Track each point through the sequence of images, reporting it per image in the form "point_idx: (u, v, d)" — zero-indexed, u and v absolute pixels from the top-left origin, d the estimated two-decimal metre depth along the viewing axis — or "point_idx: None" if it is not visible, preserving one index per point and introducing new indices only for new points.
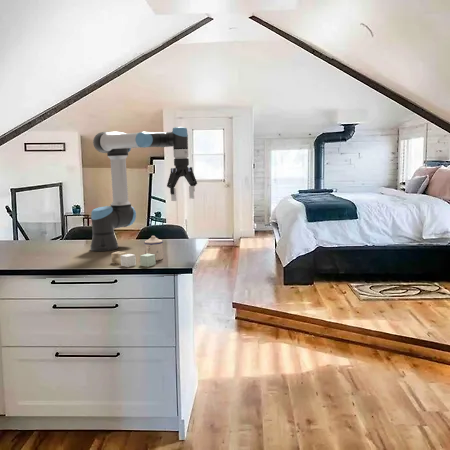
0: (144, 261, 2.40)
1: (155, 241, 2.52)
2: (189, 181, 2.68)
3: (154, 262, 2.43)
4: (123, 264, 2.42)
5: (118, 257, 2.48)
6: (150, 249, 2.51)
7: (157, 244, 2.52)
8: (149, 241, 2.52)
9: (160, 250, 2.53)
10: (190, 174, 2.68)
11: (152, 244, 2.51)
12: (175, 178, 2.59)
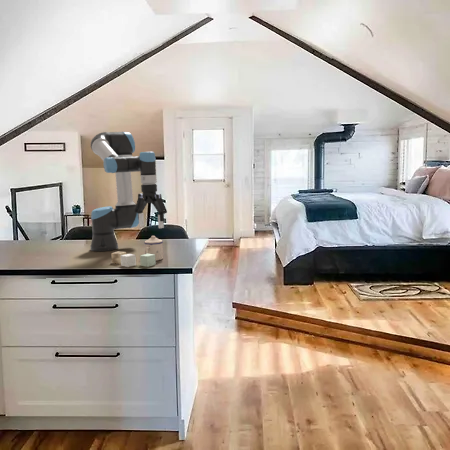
0: (144, 261, 2.40)
1: (155, 241, 2.52)
2: None
3: (154, 262, 2.43)
4: (123, 264, 2.42)
5: (118, 257, 2.48)
6: (150, 249, 2.51)
7: (157, 244, 2.52)
8: (149, 241, 2.52)
9: (160, 250, 2.53)
10: None
11: (152, 244, 2.51)
12: None
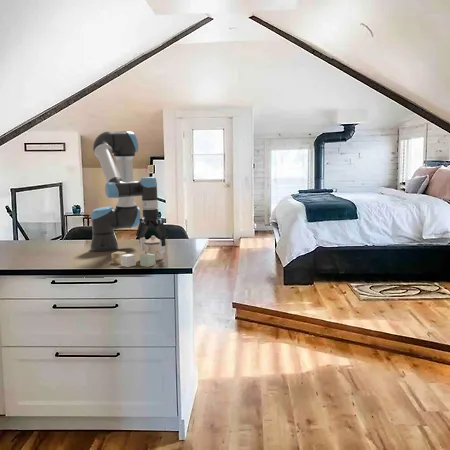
0: (144, 261, 2.40)
1: (155, 241, 2.52)
2: None
3: (154, 262, 2.43)
4: (123, 264, 2.42)
5: (118, 257, 2.48)
6: (150, 249, 2.51)
7: (157, 244, 2.52)
8: (149, 241, 2.52)
9: None
10: None
11: (152, 244, 2.51)
12: None
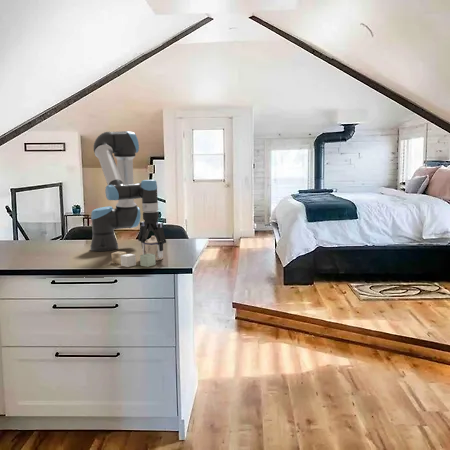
0: (144, 261, 2.40)
1: (155, 241, 2.52)
2: None
3: (154, 262, 2.43)
4: (123, 264, 2.42)
5: (118, 257, 2.48)
6: (150, 249, 2.51)
7: (157, 244, 2.52)
8: (149, 241, 2.52)
9: None
10: None
11: (152, 244, 2.51)
12: None
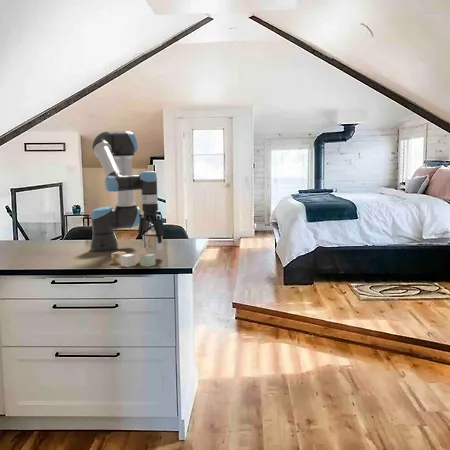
0: (144, 261, 2.40)
1: (155, 233, 2.51)
2: None
3: (154, 262, 2.43)
4: (123, 264, 2.42)
5: (118, 257, 2.48)
6: (150, 241, 2.51)
7: None
8: (149, 233, 2.51)
9: None
10: None
11: (152, 236, 2.50)
12: None
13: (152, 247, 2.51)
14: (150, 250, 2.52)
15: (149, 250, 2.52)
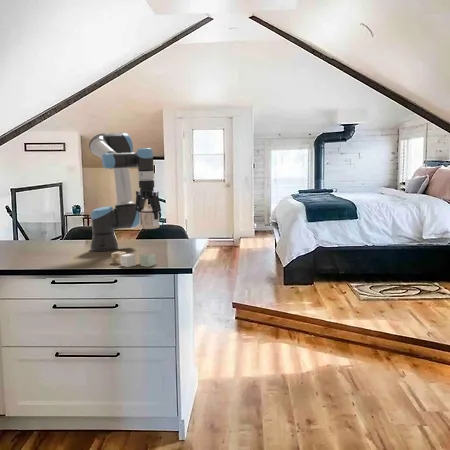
0: (144, 261, 2.40)
1: (151, 209, 2.53)
2: None
3: (154, 262, 2.43)
4: (123, 264, 2.42)
5: (118, 257, 2.48)
6: (146, 217, 2.53)
7: None
8: (145, 209, 2.53)
9: None
10: None
11: (148, 212, 2.52)
12: None
13: (149, 223, 2.53)
14: (147, 227, 2.54)
15: (145, 227, 2.54)
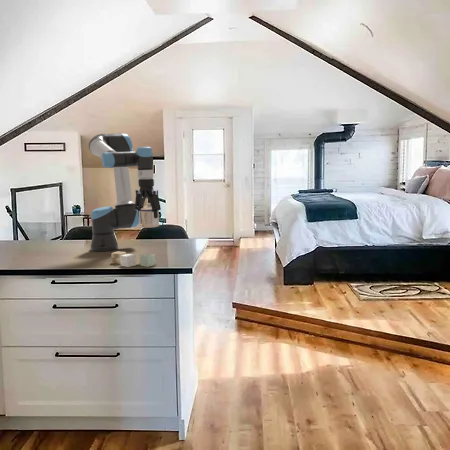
0: (144, 261, 2.40)
1: (151, 208, 2.53)
2: None
3: (154, 262, 2.43)
4: (123, 264, 2.42)
5: (118, 257, 2.48)
6: (146, 216, 2.53)
7: None
8: (145, 208, 2.54)
9: None
10: None
11: (148, 211, 2.53)
12: None
13: (148, 222, 2.53)
14: (147, 225, 2.54)
15: (145, 226, 2.54)
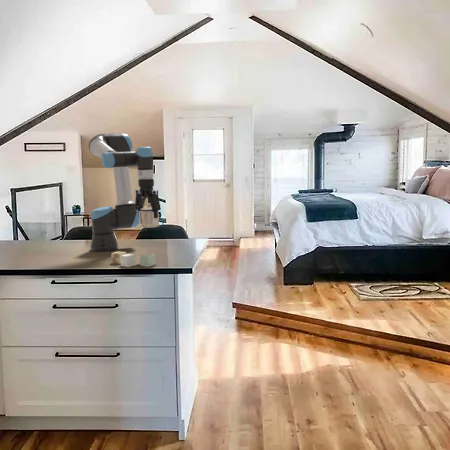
0: (144, 261, 2.40)
1: (151, 208, 2.53)
2: None
3: (154, 262, 2.43)
4: (123, 264, 2.42)
5: (118, 257, 2.48)
6: (146, 216, 2.53)
7: None
8: (145, 208, 2.54)
9: None
10: None
11: (148, 211, 2.53)
12: None
13: (148, 222, 2.53)
14: (147, 225, 2.54)
15: (145, 226, 2.54)
